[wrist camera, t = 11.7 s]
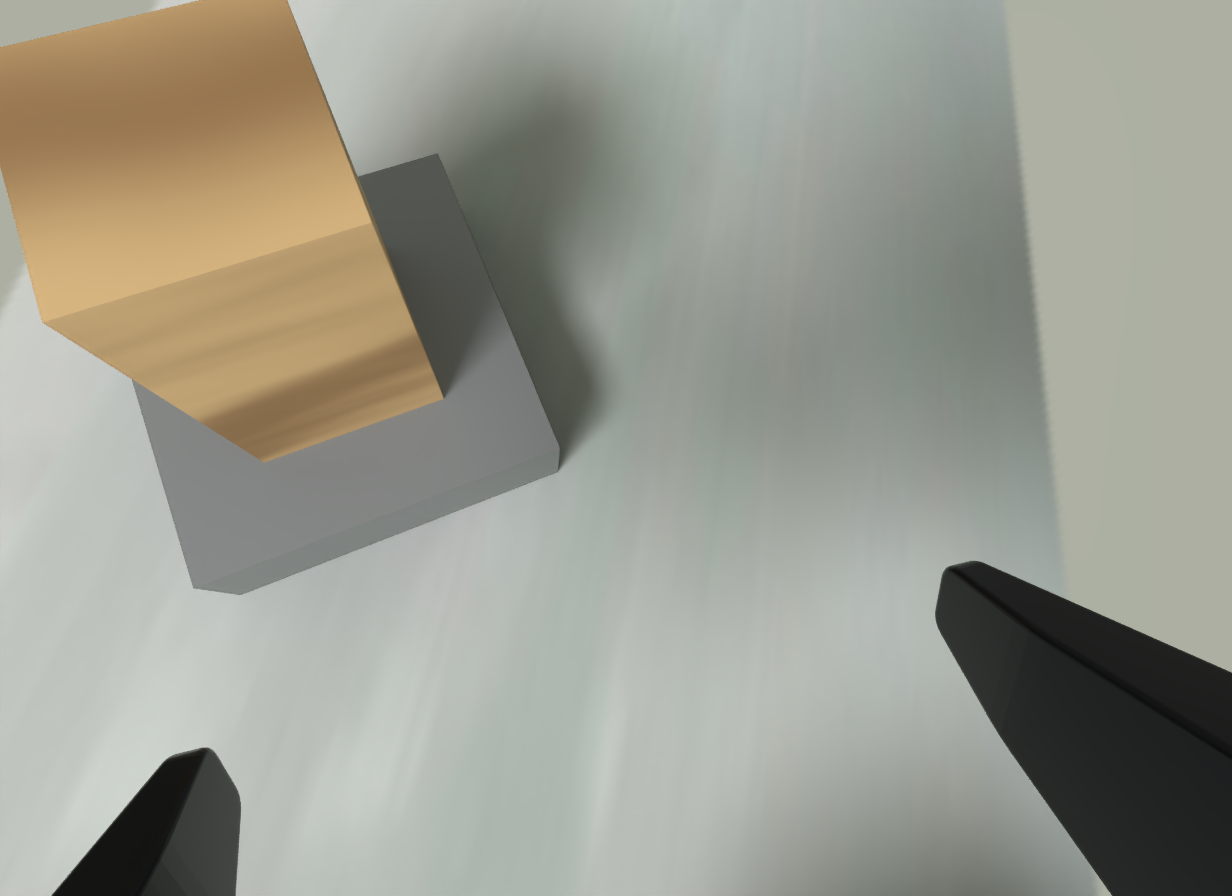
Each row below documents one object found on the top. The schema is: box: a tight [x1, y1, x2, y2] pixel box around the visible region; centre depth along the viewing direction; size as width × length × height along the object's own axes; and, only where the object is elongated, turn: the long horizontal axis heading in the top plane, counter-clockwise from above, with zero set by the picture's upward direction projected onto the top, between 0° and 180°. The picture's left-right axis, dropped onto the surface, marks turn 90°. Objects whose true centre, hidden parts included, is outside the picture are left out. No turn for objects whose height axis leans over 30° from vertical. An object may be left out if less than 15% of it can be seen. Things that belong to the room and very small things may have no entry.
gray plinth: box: [132, 154, 560, 595], centre depth 22 cm, size 10×10×3 cm
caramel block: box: [0, 0, 444, 463], centre depth 16 cm, size 5×5×9 cm
